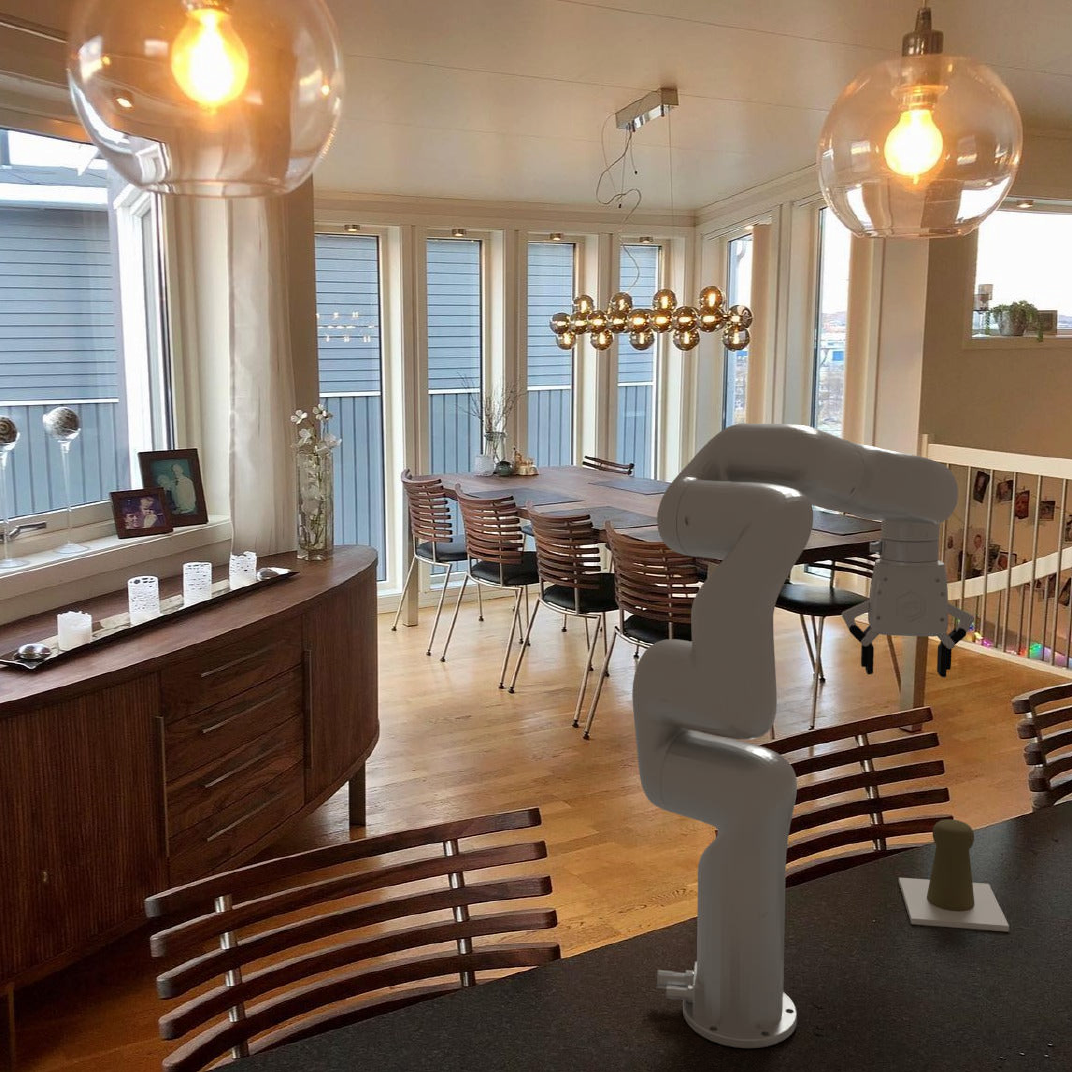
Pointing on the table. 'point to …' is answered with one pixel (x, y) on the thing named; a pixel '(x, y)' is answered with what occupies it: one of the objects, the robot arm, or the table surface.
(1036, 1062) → the table surface
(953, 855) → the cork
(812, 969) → the table surface
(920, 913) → the tile
